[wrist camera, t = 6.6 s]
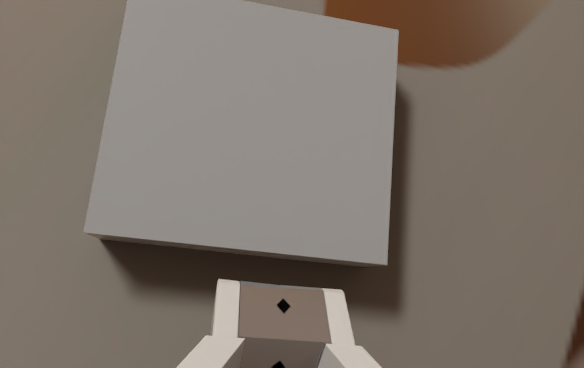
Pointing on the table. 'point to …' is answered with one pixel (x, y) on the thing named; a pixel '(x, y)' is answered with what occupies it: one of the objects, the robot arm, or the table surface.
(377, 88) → the tile
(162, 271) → the table surface
